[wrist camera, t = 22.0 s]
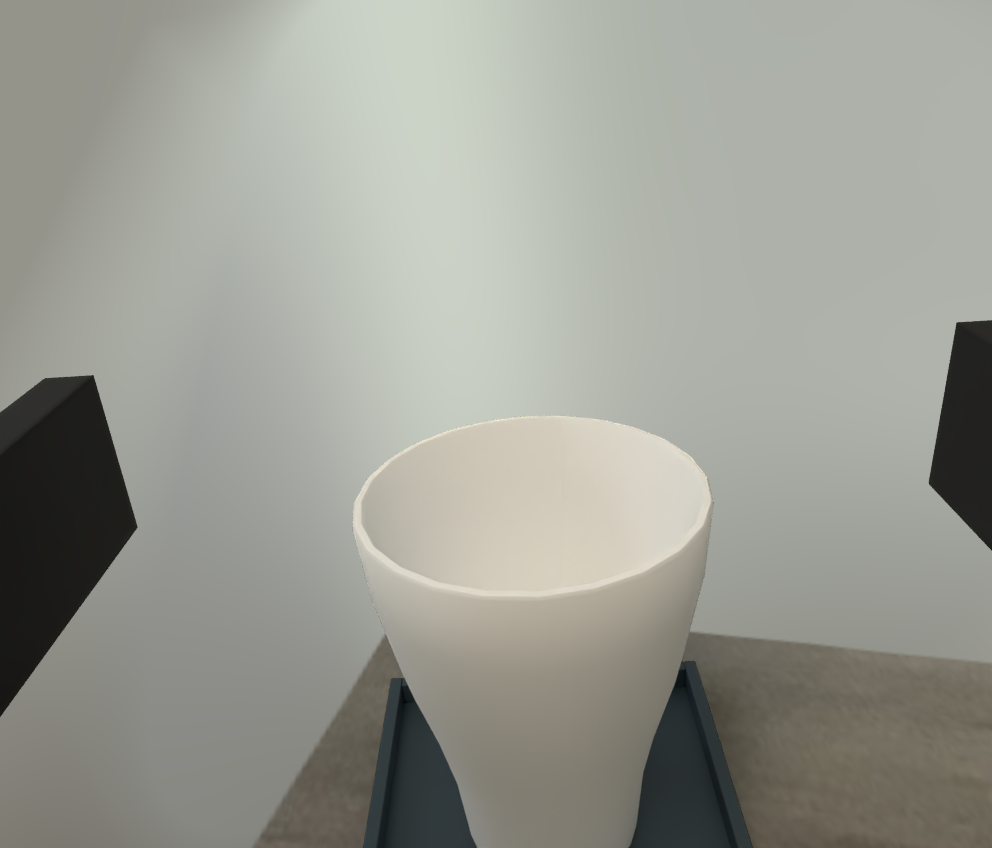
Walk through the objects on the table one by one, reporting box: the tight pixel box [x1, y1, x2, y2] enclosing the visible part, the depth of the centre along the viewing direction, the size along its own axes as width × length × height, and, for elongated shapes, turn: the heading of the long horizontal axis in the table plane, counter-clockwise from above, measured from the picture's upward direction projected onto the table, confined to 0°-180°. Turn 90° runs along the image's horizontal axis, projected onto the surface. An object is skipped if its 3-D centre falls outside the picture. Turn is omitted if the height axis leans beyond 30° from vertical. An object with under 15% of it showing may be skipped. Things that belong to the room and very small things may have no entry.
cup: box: [353, 416, 714, 848], centre depth 28 cm, size 10×10×14 cm
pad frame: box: [363, 661, 753, 848], centre depth 30 cm, size 13×13×2 cm
